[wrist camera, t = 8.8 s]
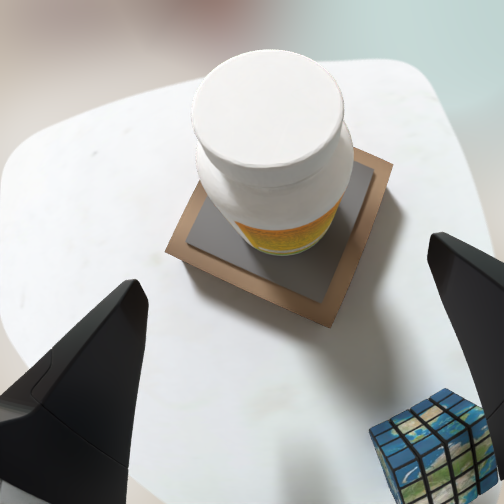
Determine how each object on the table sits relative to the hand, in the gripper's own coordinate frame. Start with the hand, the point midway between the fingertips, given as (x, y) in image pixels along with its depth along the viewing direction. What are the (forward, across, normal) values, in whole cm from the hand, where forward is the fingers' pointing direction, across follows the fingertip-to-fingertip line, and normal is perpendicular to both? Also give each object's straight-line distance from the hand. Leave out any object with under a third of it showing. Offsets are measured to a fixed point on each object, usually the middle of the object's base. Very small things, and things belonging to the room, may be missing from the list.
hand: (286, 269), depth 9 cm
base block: (+10, 0, +4) cm, 11 cm away
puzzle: (-1, -8, +16) cm, 18 cm away
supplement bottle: (+8, 0, +2) cm, 9 cm away
